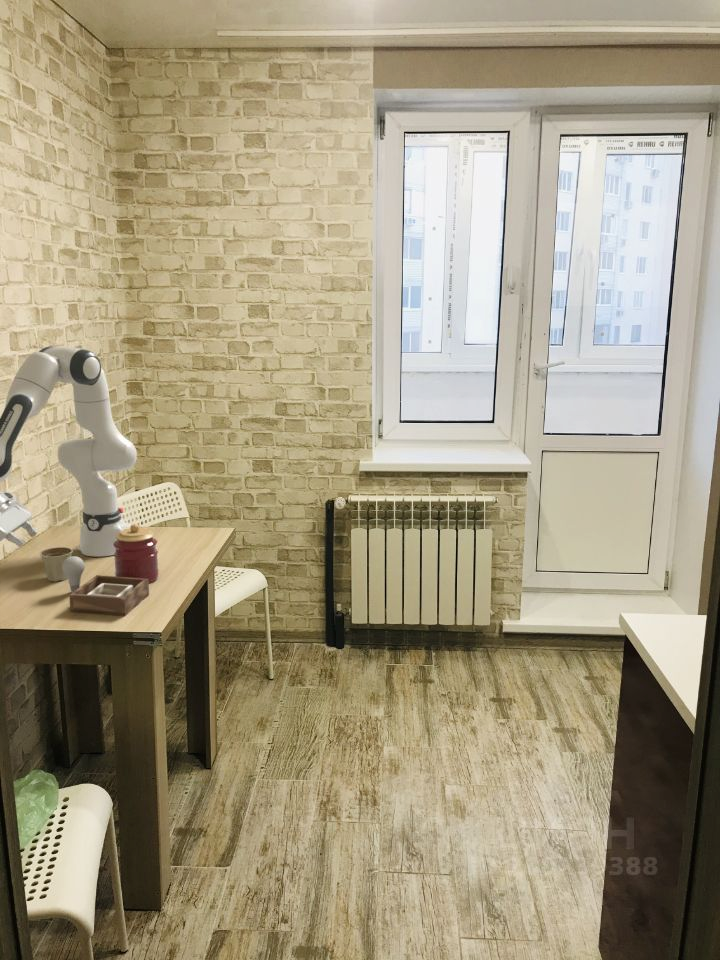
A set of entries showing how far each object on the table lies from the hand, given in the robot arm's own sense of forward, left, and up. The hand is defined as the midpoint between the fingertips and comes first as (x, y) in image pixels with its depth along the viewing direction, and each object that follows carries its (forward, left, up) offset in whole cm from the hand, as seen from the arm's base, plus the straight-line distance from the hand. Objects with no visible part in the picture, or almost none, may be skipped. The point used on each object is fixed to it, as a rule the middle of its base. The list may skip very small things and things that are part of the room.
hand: (29, 539), depth 226 cm
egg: (-2, +12, -16) cm, 20 cm away
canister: (-16, +25, -16) cm, 34 cm away
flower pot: (-12, +1, -16) cm, 20 cm away
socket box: (+4, +26, -16) cm, 31 cm away
